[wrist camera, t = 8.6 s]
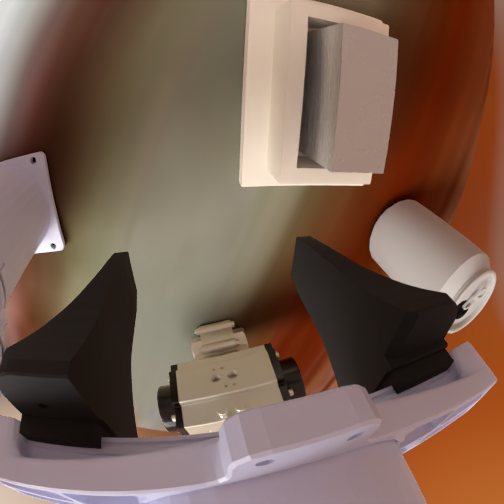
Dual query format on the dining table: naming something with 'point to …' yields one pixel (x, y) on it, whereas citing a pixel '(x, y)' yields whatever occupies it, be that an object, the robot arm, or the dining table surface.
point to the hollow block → (284, 91)
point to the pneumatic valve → (224, 380)
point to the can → (432, 258)
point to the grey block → (348, 98)
